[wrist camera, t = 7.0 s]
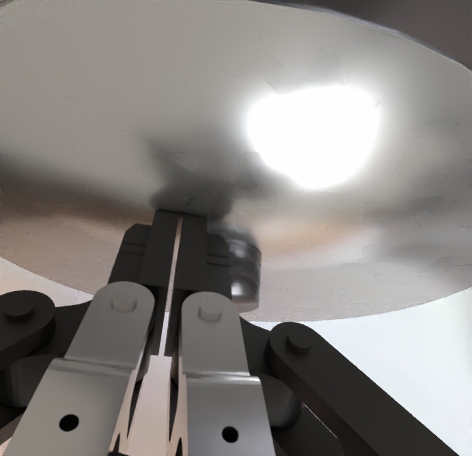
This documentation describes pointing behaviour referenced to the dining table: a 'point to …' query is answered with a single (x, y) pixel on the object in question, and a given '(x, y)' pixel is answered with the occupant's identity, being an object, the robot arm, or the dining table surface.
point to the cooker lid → (245, 144)
